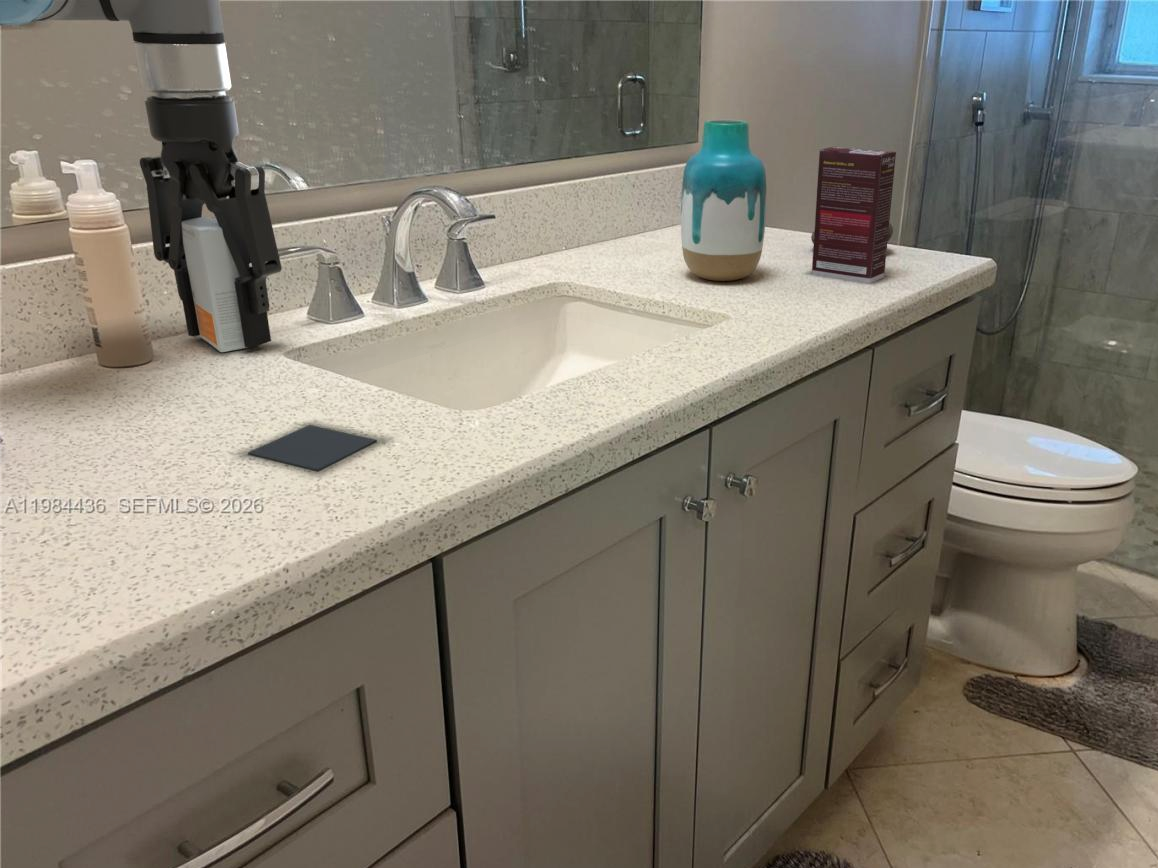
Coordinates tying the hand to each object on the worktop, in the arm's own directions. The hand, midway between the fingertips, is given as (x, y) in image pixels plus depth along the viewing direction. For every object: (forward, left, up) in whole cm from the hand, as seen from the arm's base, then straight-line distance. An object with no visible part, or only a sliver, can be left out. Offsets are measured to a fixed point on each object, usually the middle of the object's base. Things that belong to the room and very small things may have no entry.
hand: (229, 338), depth 105 cm
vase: (+32, +50, -1) cm, 60 cm away
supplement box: (+46, +59, -1) cm, 75 cm away
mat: (+27, -17, -1) cm, 32 cm away
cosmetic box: (0, 0, -1) cm, 1 cm away
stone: (+42, +73, -1) cm, 84 cm away
